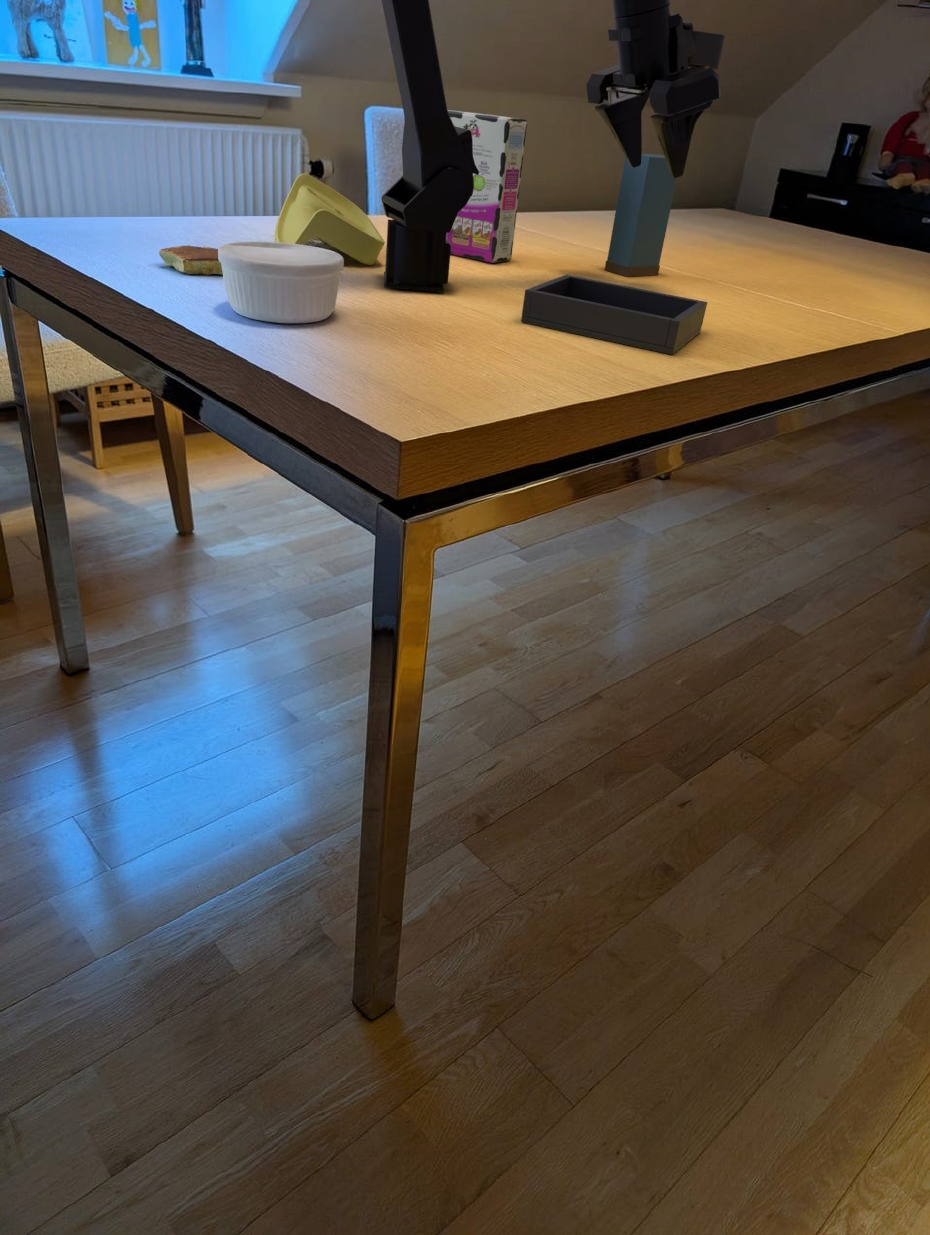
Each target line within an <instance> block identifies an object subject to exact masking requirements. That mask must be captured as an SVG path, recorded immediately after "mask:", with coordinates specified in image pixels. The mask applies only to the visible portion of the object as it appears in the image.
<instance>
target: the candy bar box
mask: <svg viewBox="0 0 930 1235" xmlns="http://www.w3.org/2000/svg"><path fill="white" fill-rule="evenodd" d="M447 110H448V113H449V116H450V118H451V120H452V122H453V124H454V126H456V127H460V128H464V129H467V130H470V131H471V134H472V140H473V159H474V162H475V165H476V167H477V169H478V171H479V174H478V175H477V174H474V173H473V177H474V191H473V195H472V196H471V197H470V199H469V201H468V203H467V204H466V205H465V206H464V207H463V208H462V209H461V210H460V211H459V212H458V214H457V217H456V219H455V221H454V224H453V226H452V229H451V231H450V232H449V233H447V235H446V240H448V241H449V242H450V244H451V253H450V255H452V256H457V257H462V258H468V259H472V260H476V261H482V262H485V263H491V264H495V263H503V262H508V261H511V260H512V256H513V247H514V241H515V240H514V239H515V231H516V222H517V213H518V212H517V211H518V207H519V206H518V205H519V196H520V186H521V179H522V170H523V162H524V154H525V145H526V136H527V130H528V129H527V128H528V127H527V126H528V120H527V119H524V118H518V117H512V116H511V117H510V116H503V115H495V114H487V113H478V112H470V111H460V110H452V109H451V110H450V109H447Z"/></svg>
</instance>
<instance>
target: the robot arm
mask: <svg viewBox="0 0 930 1235" xmlns="http://www.w3.org/2000/svg"><path fill="white" fill-rule="evenodd" d="M381 4H382V10H383V14H384V20H385V25H386V30H387V35H388V40H389V46H390V50H391V55H392V56H391V57H392V60H393V66H394V70H395V75H396V80H397V85H398V90H399V95H400V96H399V97H400V101H401V105H402V111H403V116H404V118H403V119H404V123H403V134H402V142H401V144H402V145H401V159H402V162H401V163H402V176H401V177H400V178H399V179H398V180H396V182H395V183H393V185H392V186H390V187H389V189H387V190H386V191H385V193H384V194H382V196H381V197H380V198H381V203H382V207H383V210H384V215H385V217H386V218H389V219H387V229H386V230H387V231H386V246H385V247H386V250H385V266H384V267H385V270H384V271H383V287H384V288H389V289H401V290H402V289H403V290H413V291H424V292H425V291H426V292H436V293H444V292H445V285H447V284H448V283H449V274H450V265H451V264H450V263H451V254H450V253H451V244H450V242H449V241H448V240H446V235H447V233H449V232H450V231H451V229H452V226H453V224H454V221H455V219H456V217H457V214H458V212H459V211H460V210H461V209H462V208H463V207H464V206H465V205H466V204H467V203H468V201H469V199H470V197H471V196H472V195H473V191H474V177H473V173H474V174H477V175H478V174H479V171H478V169H477V167H476V165H475V162H474V159H473V140H472V134H471V131H470V130H467V129H464V128H460V127H456V126H454V124H453V122H452V120H451V118H450V116H449V113H448V110H449V109H448V106H447V100H446V95H445V89H444V82H443V77H442V70H441V64H440V61H439V60H440V59H439V53H438V47H437V42H436V36H435V30H434V24H433V18H432V12H431V7H430V1H429V0H381ZM612 7H613V8H612V9H613V16H614V17H613V18H614V19H613V20H614V27H611V28H608V29H607V34H608V41H610V42H616V47H617V48H616V49H617V55H618V56H617V57H618V64H616V65H613V66H610V67H608V68H604V69H601V70H599V71H596V72H592V73H591V75H590V77H589V78H588V80H587V82H586V84H585V87H586V95H587V96H586V97H587V103H588V104H595V105H594V110H595V112H597V113H598V114H599V116H600V117H601V119H602V120H603V122H604V123H605V125H606V126H607V128H608V130H609V131H610V133H611V134H612V136H613V138H614V140H616V143H617V145H618V146H619V148H620V149H621V151H622V153H623V155H624V156H626V158H627V160H628V162H629V163H630V165H631V167H634V168H635V167H638V166H640V165H641V158H642V154H643V153H642V152H643V138H642V137H643V132H642V129H643V128H642V127H643V126H642V125H643V124H642V113H643V110H644V108H645V106H646V104H647V102H648V100H649V105H650V107H651V109H652V111H653V112H654V114H652V115H650V119H651V123H652V126H653V128H654V131H655V134H656V137H657V139H658V142H659V145H660V147H661V150H662V153H663V156H665V159H666V162H667V165H668V167H669V169H670V172H671V174H672V176H673V178H677V179H678V178H680V177H682V176H684V173H685V169H686V164H687V160H688V156H689V151H690V147H691V142H692V137H693V133H694V130H695V128H696V124H697V122H698V120H699V119H700V117H701V116H702V114H703V113H704V112H705V110H708V109H710V108H711V107H712V105H713V104H714V101H715V100H717V99H720V98H721V95H722V94H721V93H722V92H721V75H720V74H719V73H717V71H718V70H719V68H720V64H721V58H722V54H723V49H724V45H725V40H726V35H725V34H721V33H715V32H714V33H713V32H705V31H700V30H694V25H693V23H692V22H683V17H682V16H681V14H680V13H679V12H677V13H674V12H673V13H672V8H671V0H612Z"/></svg>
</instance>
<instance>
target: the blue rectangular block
mask: <svg viewBox="0 0 930 1235" xmlns="http://www.w3.org/2000/svg"><path fill="white" fill-rule="evenodd" d="M624 156H625V155H624ZM677 179H678V178H673V176H672V174H671V172H670V169H669V167H668V165H667V162H666V159H665V156H664V154H657V153H656V154H654V153H642V158H641V165H640V166H638V167H635V168H634V167H631V165H630V163H629V162H628V160H627V158H626V156H625V157H624V162H623V167H622V172H621V179H620V185H619V189H618V190H619V191H618V196H617V201H616V207H615V214H614V218H613V224H612V231H611V236H610V240H609V241H610V242H609V248H608V252H607V253H608V254H607V260H605V265H604V271H607V272H609V273H613V274H617V275H620V276H623V277H626V278H627V277H628V278H631V277H632V278H633V277H645V276H647V277H648V276H649V277H650V276H658V275H659V272H660V268H661V265H660V263H661V258H662V253H663V248H664V243H665V238H666V235H667V234H666V233H667V228H668V224H669V218H670V214H671V209H672V204H673V199H674V194H675V189H676V185H677Z"/></svg>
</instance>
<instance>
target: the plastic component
mask: <svg viewBox="0 0 930 1235" xmlns="http://www.w3.org/2000/svg"><path fill="white" fill-rule="evenodd" d="M314 239H317V240H318V241H319V242H323V243H325V244H326V245H328V246H331V247H333V248H335V249H337V250H339V252H342V253H344V254H346V255H347V256H349V257H350V258H352V259H354V260H356V261H357V262H360V263H362V264H364V265H366V266H371V265H374V264H375V262H376V260H377V258H378V256H379V255H380V253H381V251H382V249H383V247H384V246H385V244H386V241H385V240H384V238H383V236H382V235H381V233H380V232H379V231H378V229H377V228H376V226H375V224H374V223H373V222H372V220H371V218H370V217H369V216H368V215H367V213H365V211H363V209H361V208H360V207H359V206H358V205H356V204H355V203H354V202H352V201H351V200H350V199H348V198H347V197H346V196H344V195H342V194H341V193H339V192H338V191H336V190H335V189H334V188H331V187H330V186H328V185H327V184H326V183H324V182H322V181H320V180H319V179H317V178H315V177H314V176H312V175H310V174H308V173H301V174H298V175H297V176H296V178H295V180H294V181H293V184H292V186H291V188H290V189H289V192H288V194H287V196H286V197H285V200H284V203H283V204H282V208H281V210H280V213H279V215H278V218H277V221H276V225H275V229H274V242H279V243H290V244H299V245H306V246H307V244H308V242H309V241H311V240H314Z"/></svg>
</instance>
